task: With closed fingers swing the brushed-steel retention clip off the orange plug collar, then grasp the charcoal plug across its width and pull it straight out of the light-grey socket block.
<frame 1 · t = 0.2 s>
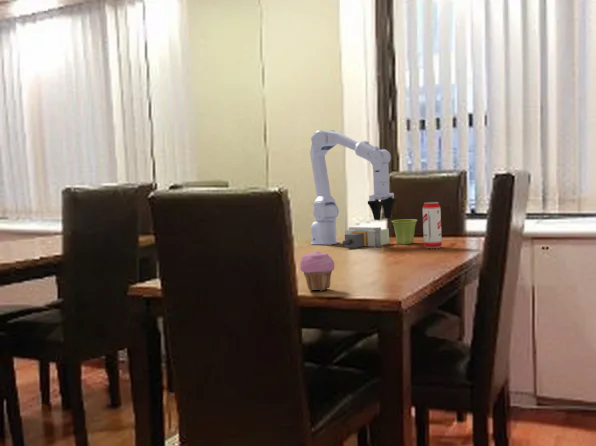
hand: (382, 219, 276), 10 cm above the table, fingers open, 7 cm apart
plant pot: (405, 243, 280), on the table
plug: (355, 239, 276), point 3 cm above the table, slide at 0.0 cm
socket block: (367, 244, 283), on the table
beer can: (432, 248, 263), on the table
cupcake: (318, 291, 190), on the table
clip: (364, 228, 276), point 6 cm above the table, hinge at 0.0°
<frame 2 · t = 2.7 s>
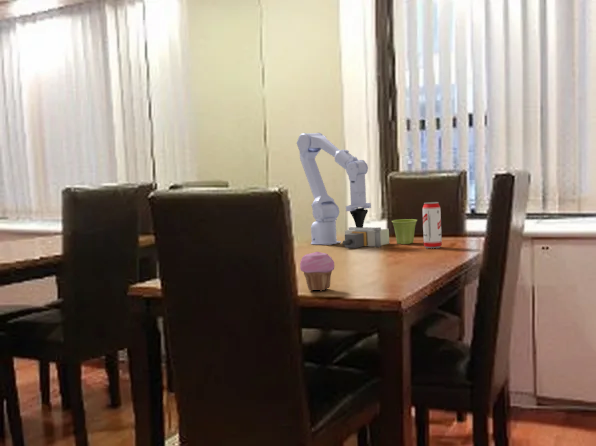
hand: (359, 228, 279), 6 cm above the table, fingers closed, pressing on clip
clip: (364, 228, 276), point 6 cm above the table, hinge at 0.0°, touching gripper
everything else where it was.
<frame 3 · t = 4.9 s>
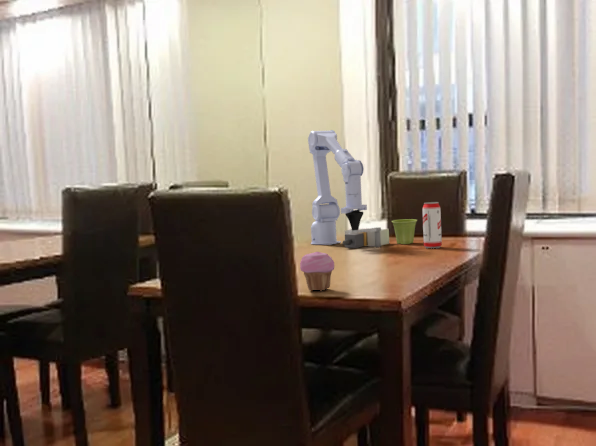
hand: (355, 231, 271), 6 cm above the table, fingers closed, pressing on clip
clip: (365, 230, 271), point 6 cm above the table, hinge at 64.8°, touching gripper
everything else where it was.
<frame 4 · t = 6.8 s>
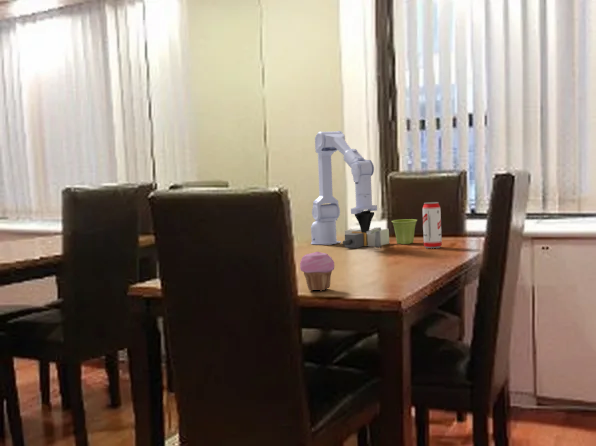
hand: (365, 232, 266), 6 cm above the table, fingers closed
clip: (373, 230, 268), point 6 cm above the table, hinge at 106.4°, touching gripper
everything else where it was.
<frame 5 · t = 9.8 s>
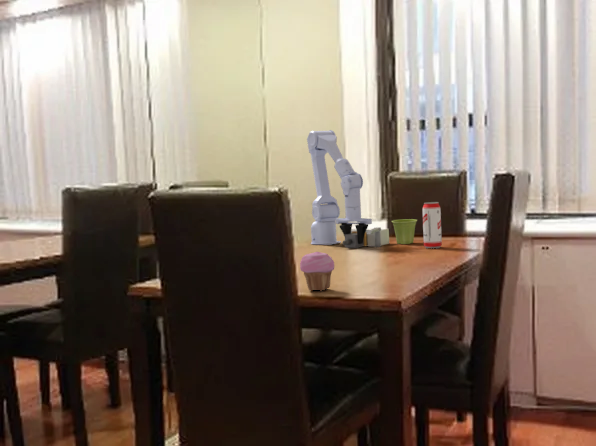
hand: (354, 243, 276), 1 cm above the table, fingers closed on plug, 5 cm apart
plug: (355, 239, 276), point 3 cm above the table, slide at 0.0 cm, touching gripper
clip: (373, 230, 268), point 6 cm above the table, hinge at 106.6°
everything else where it was.
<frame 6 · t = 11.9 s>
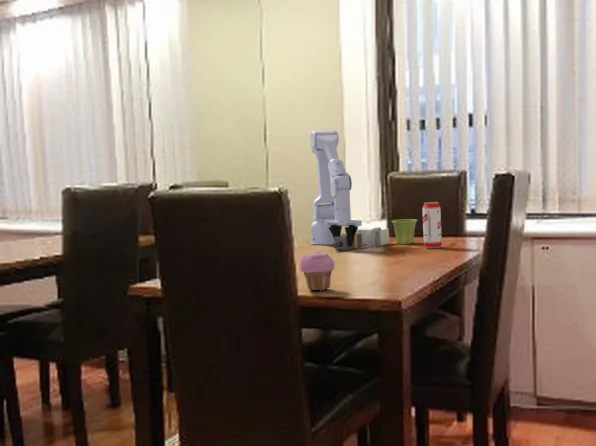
hand: (344, 245, 270), 1 cm above the table, fingers closed on plug, 5 cm apart
plug: (345, 241, 271), point 3 cm above the table, slide at 6.6 cm, touching gripper
everything else where it was.
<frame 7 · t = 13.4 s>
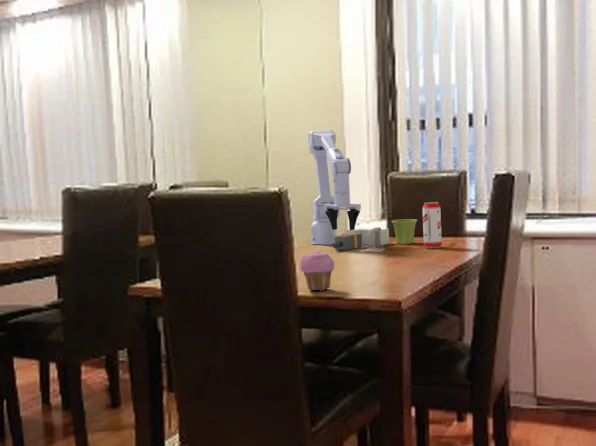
hand: (343, 229, 270), 7 cm above the table, fingers open, 7 cm apart
plug: (345, 241, 271), point 3 cm above the table, slide at 6.6 cm
everything else where it was.
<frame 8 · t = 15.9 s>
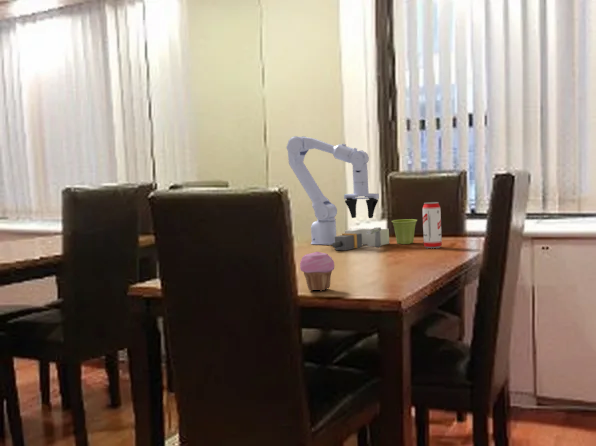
hand: (362, 217, 285), 10 cm above the table, fingers open, 7 cm apart
nothing on the table moved.
at the end: clip at +107° (first picture: +0°); plug slide at 6.6 cm; the gripper is holding nothing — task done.
